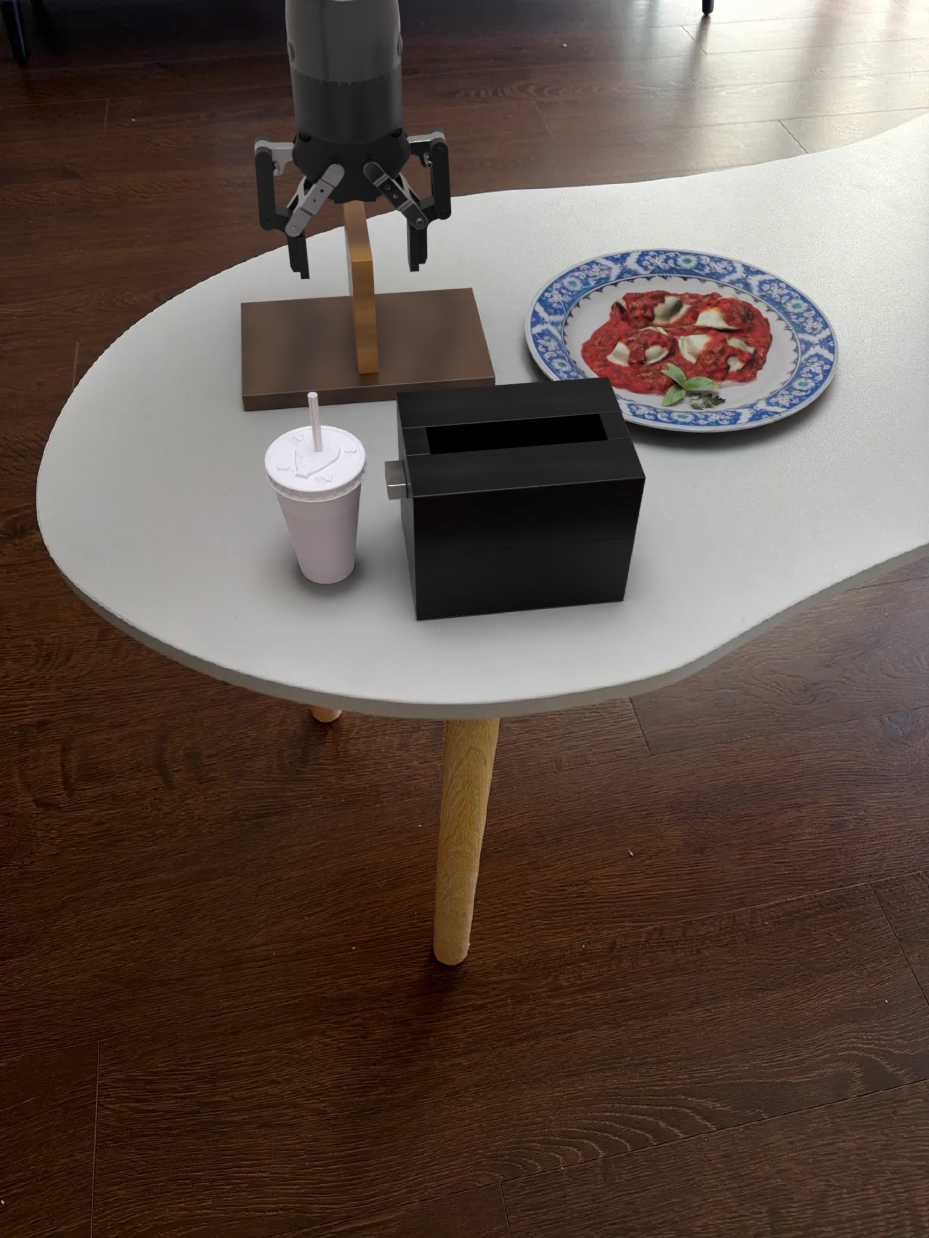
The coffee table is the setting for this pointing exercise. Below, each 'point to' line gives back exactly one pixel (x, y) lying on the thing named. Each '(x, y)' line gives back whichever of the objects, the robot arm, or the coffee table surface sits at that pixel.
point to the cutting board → (326, 355)
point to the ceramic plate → (684, 338)
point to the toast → (361, 286)
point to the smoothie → (319, 494)
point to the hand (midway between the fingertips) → (359, 270)
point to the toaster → (515, 496)
